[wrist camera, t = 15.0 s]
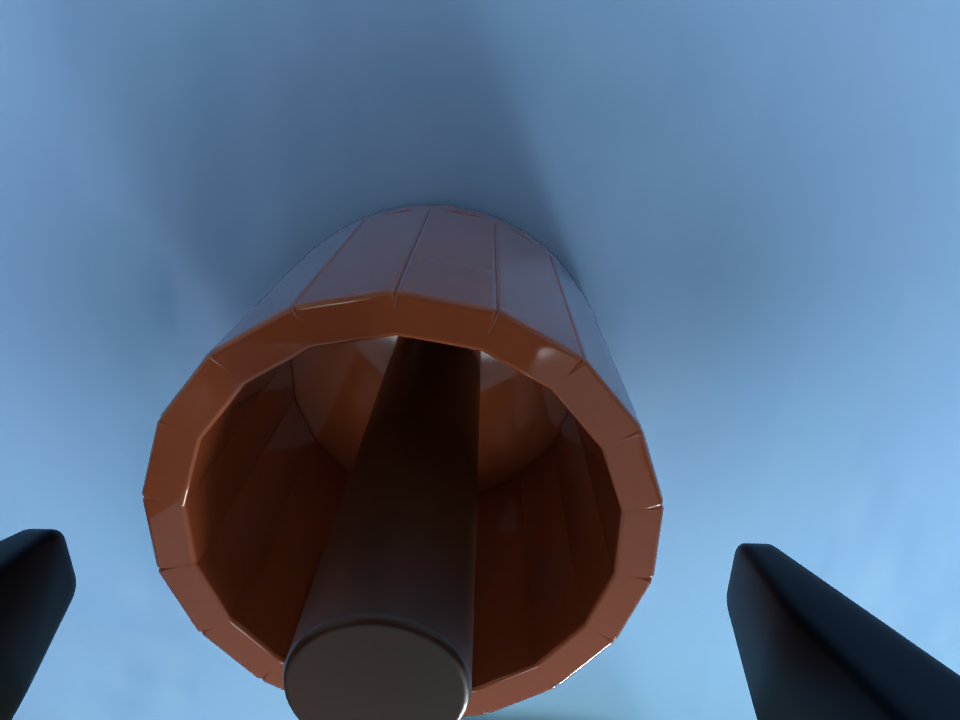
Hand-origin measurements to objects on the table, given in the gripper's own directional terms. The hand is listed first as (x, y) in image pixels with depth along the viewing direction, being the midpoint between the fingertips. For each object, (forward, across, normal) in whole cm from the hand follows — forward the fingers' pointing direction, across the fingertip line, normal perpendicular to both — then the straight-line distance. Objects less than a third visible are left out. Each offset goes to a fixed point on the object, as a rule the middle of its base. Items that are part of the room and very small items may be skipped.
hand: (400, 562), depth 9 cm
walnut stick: (+6, 0, 0) cm, 6 cm away
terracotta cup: (+6, 0, 0) cm, 6 cm away
